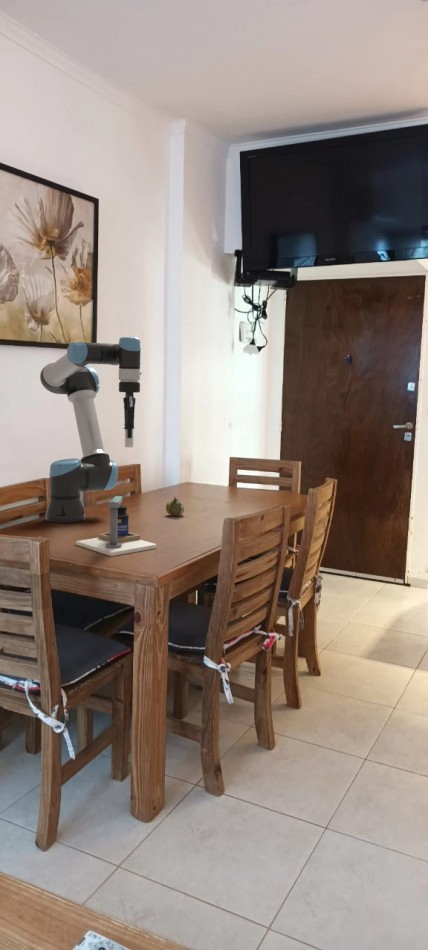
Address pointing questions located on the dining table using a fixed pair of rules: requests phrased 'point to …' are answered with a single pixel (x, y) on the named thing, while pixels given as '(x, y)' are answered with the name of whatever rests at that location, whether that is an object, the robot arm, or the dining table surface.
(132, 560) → the dining table surface
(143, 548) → the base board
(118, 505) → the keeper arm
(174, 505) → the onion
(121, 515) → the pill bottle
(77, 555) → the dining table surface
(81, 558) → the dining table surface
